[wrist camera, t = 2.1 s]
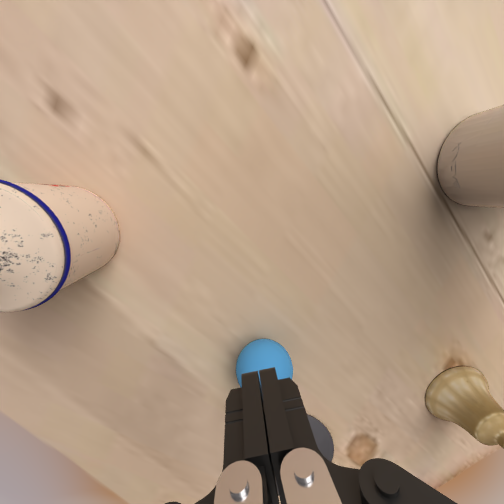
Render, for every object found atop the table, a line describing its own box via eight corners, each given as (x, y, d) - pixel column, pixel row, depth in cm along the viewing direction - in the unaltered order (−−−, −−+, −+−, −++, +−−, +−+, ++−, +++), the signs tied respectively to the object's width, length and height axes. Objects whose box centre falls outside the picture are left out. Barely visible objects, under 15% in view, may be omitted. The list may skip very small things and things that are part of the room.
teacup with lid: (74, 162, 23) (-78, 133, 12) (143, 237, 25) (68, 273, 14) (-15, 240, 24) (-232, 281, 13) (58, 306, 26) (-76, 392, 15)
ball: (282, 323, 29) (294, 357, 23) (289, 367, 30) (303, 409, 24) (231, 334, 28) (230, 370, 23) (241, 377, 30) (242, 422, 24)
